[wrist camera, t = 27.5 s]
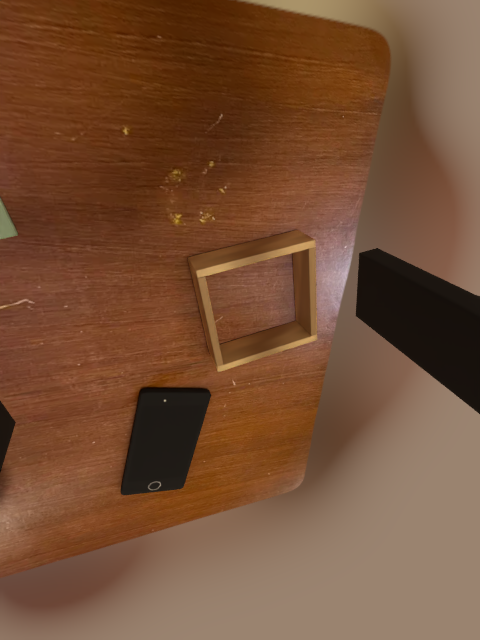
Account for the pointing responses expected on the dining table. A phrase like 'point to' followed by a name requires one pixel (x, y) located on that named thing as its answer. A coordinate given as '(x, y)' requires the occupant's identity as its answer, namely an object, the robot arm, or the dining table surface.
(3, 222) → the mat
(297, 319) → the wooden frame
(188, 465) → the cell phone
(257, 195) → the dining table surface
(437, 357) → the robot arm
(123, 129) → the dining table surface
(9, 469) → the dining table surface
